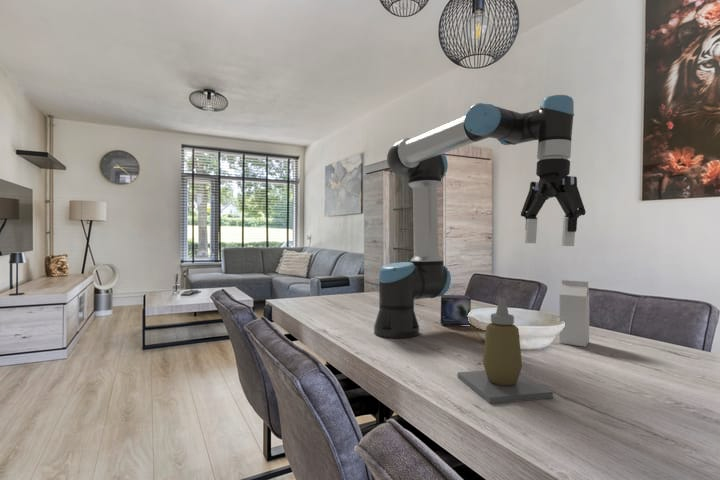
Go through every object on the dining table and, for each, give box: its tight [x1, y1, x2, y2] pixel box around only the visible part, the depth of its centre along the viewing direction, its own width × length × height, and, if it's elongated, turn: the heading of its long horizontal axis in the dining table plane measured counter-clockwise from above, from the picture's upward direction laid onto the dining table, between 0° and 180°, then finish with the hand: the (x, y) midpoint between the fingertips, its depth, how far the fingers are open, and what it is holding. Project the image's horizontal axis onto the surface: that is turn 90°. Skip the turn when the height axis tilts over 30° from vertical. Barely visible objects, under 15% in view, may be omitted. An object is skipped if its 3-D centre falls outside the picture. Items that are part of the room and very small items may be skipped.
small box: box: [439, 294, 472, 326], centre depth 142 cm, size 11×6×10 cm, turn 80°
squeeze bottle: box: [482, 297, 523, 385], centre depth 83 cm, size 8×8×18 cm
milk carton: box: [558, 279, 590, 348], centre depth 118 cm, size 7×7×19 cm
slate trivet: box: [457, 369, 554, 404], centre depth 83 cm, size 14×14×1 cm
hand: (547, 244), depth 97 cm, fingers open, 13 cm apart
